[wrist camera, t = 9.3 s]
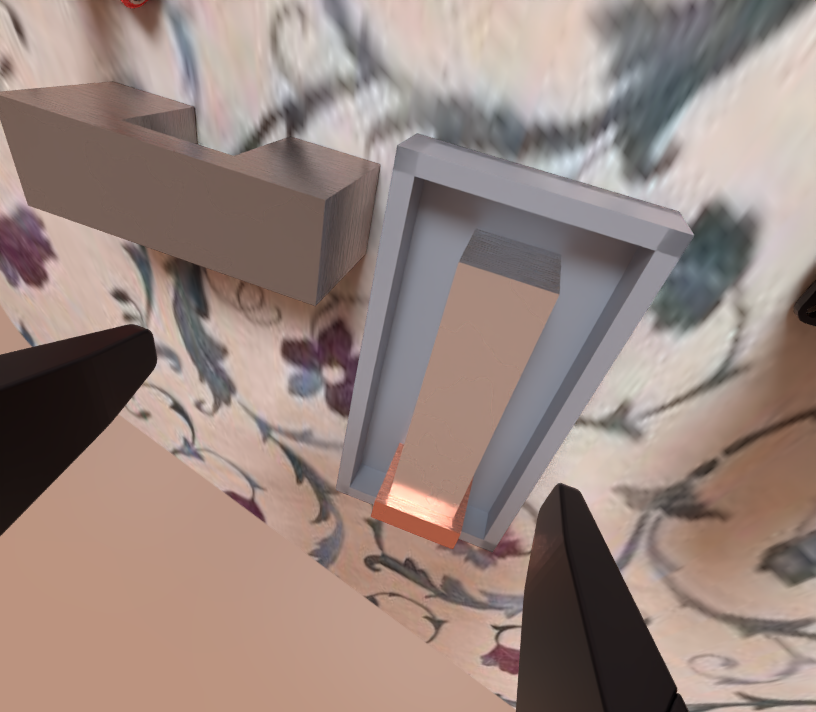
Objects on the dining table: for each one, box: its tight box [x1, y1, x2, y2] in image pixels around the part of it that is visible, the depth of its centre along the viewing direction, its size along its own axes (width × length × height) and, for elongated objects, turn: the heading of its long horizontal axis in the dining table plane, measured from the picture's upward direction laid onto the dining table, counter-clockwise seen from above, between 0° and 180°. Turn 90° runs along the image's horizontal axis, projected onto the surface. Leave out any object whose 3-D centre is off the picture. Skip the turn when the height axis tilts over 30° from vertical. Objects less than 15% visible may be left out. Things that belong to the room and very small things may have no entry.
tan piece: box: [371, 228, 561, 549], centre depth 21 cm, size 15×5×4 cm, turn 168°
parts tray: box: [336, 133, 694, 552], centre depth 22 cm, size 10×20×2 cm, turn 167°
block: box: [0, 82, 380, 306], centre depth 18 cm, size 12×4×5 cm, turn 78°
